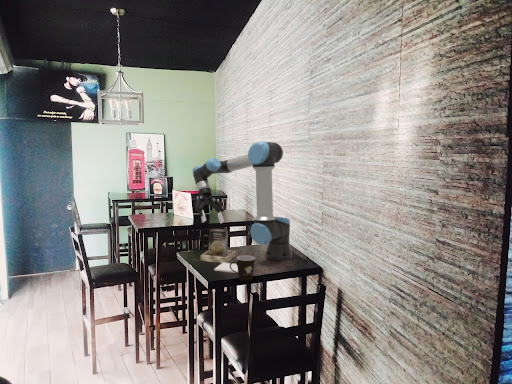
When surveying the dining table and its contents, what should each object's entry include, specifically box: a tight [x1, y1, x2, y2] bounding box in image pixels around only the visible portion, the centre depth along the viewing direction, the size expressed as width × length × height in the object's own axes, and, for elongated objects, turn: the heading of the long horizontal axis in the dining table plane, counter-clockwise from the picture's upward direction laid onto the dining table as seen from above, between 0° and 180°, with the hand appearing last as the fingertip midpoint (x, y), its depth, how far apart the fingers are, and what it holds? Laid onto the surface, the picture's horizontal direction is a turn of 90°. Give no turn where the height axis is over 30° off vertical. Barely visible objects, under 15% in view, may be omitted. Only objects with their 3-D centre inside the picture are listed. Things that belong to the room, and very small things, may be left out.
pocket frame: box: [200, 249, 237, 264], centre depth 213 cm, size 15×15×3 cm
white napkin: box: [213, 262, 238, 274], centre depth 195 cm, size 14×12×1 cm
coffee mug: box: [229, 255, 256, 282], centre depth 180 cm, size 12×9×10 cm
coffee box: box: [209, 228, 229, 257], centre depth 212 cm, size 9×6×16 cm
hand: (213, 222), depth 219 cm, fingers open, 13 cm apart
